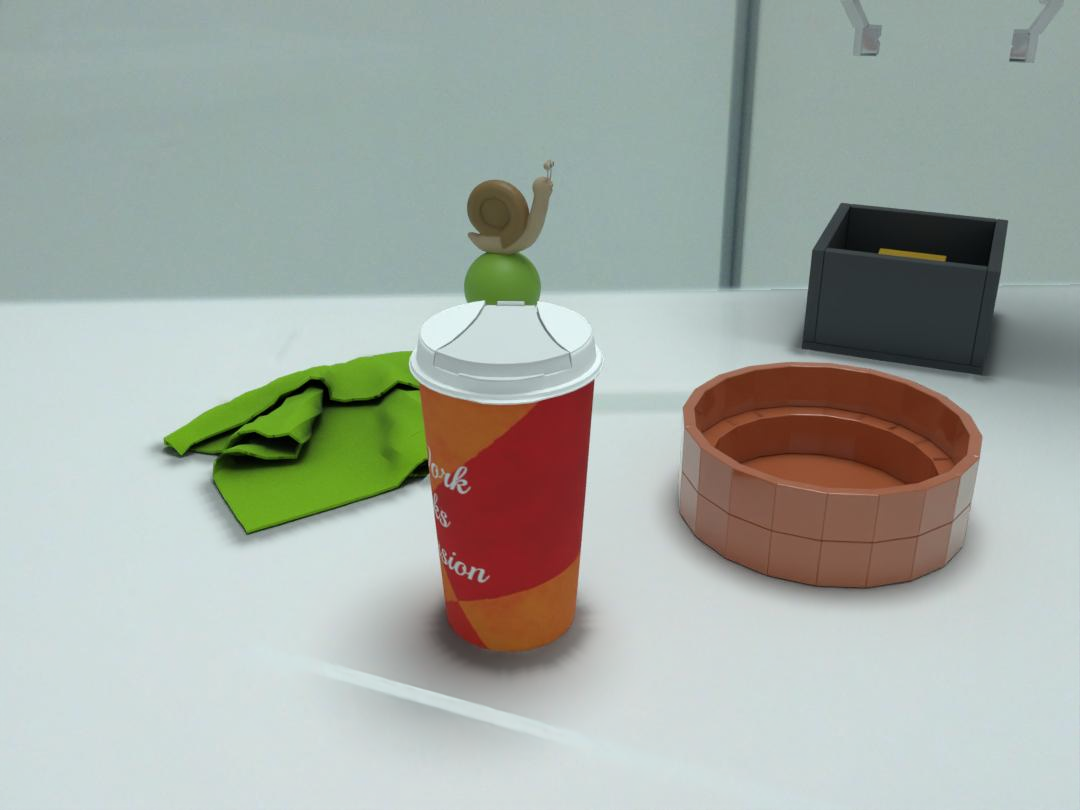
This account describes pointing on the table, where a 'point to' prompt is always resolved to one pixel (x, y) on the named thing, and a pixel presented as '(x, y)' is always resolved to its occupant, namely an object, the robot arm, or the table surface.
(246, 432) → the cloth
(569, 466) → the paper cup
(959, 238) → the bin
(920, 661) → the table surface
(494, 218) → the snail figurine
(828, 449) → the bowl
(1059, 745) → the table surface
